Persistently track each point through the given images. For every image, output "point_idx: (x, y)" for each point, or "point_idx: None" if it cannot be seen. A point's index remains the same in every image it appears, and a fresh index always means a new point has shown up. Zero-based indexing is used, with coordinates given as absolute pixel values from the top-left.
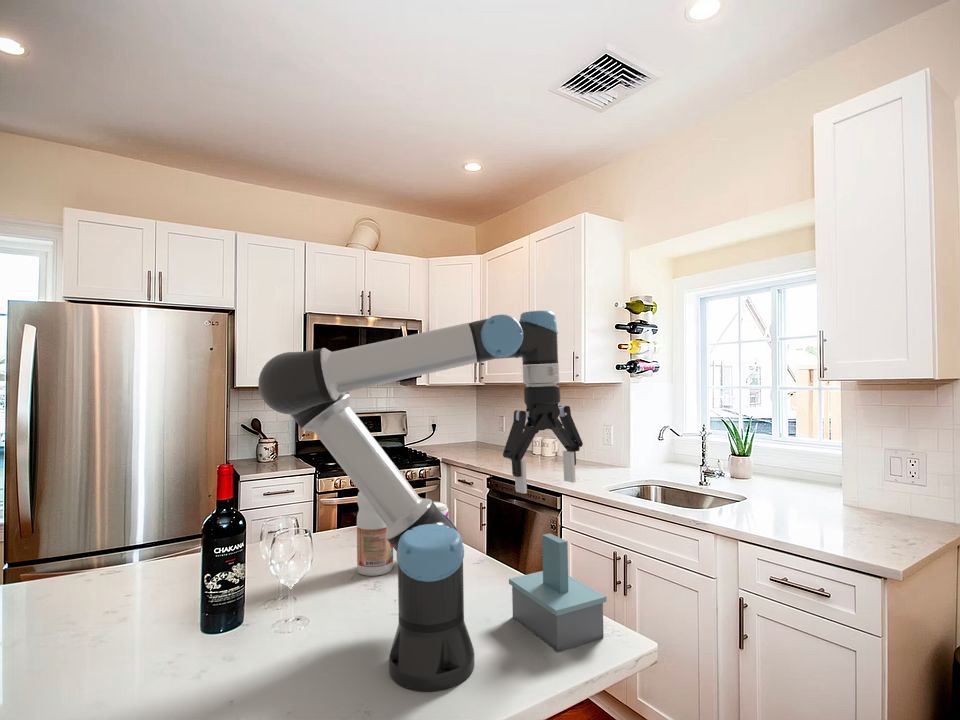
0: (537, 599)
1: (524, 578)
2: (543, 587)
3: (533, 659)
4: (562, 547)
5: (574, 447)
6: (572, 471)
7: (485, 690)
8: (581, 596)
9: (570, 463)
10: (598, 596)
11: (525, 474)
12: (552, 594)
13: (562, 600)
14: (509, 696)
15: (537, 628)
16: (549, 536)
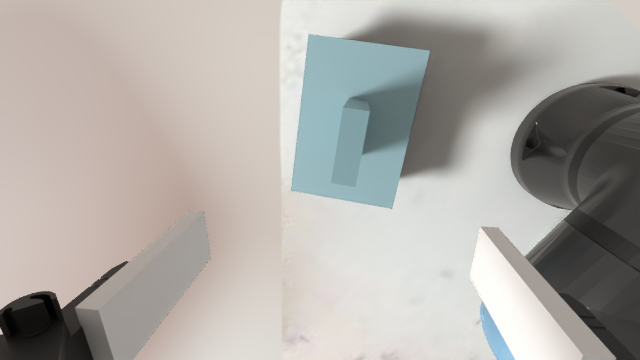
0: (414, 114)
1: (369, 191)
2: (371, 141)
3: (453, 68)
4: (360, 108)
5: (37, 333)
6: (177, 236)
7: (570, 47)
8: (345, 66)
9: (154, 270)
10: (320, 44)
11: (529, 281)
12: (381, 108)
13: (386, 76)
14: (557, 12)
15: None
16: (350, 165)
